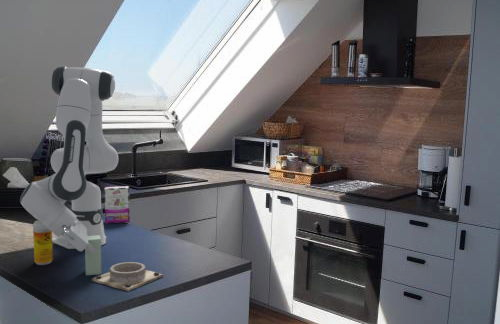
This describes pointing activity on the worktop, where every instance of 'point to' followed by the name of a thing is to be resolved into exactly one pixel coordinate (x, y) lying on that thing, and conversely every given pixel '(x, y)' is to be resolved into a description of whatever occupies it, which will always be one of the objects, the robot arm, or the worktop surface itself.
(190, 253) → the worktop surface
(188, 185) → the worktop surface
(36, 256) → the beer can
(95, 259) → the green peg
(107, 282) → the bolt socket plate
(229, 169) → the worktop surface
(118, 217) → the candy bar box
